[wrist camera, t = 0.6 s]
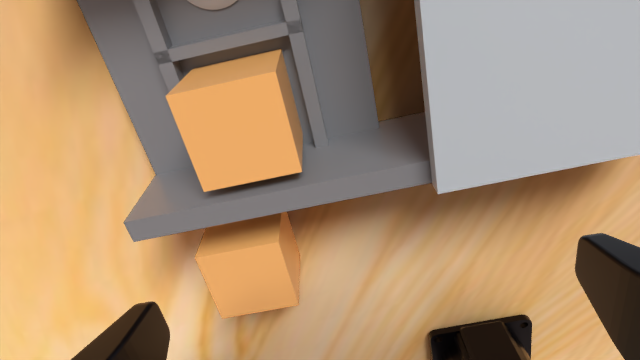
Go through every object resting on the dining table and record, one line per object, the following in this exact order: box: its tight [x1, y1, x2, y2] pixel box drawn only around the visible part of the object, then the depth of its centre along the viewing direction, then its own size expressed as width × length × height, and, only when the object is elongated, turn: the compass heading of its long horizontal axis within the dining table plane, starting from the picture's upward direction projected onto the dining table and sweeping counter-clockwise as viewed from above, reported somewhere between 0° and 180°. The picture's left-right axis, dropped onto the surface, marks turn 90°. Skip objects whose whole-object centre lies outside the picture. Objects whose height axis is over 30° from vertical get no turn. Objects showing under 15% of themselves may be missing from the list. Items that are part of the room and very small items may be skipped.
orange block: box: [166, 49, 303, 192], centre depth 17 cm, size 4×4×4 cm
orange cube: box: [195, 212, 300, 319], centre depth 22 cm, size 4×4×4 cm
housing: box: [77, 0, 432, 242], centre depth 16 cm, size 13×24×5 cm, turn 102°
